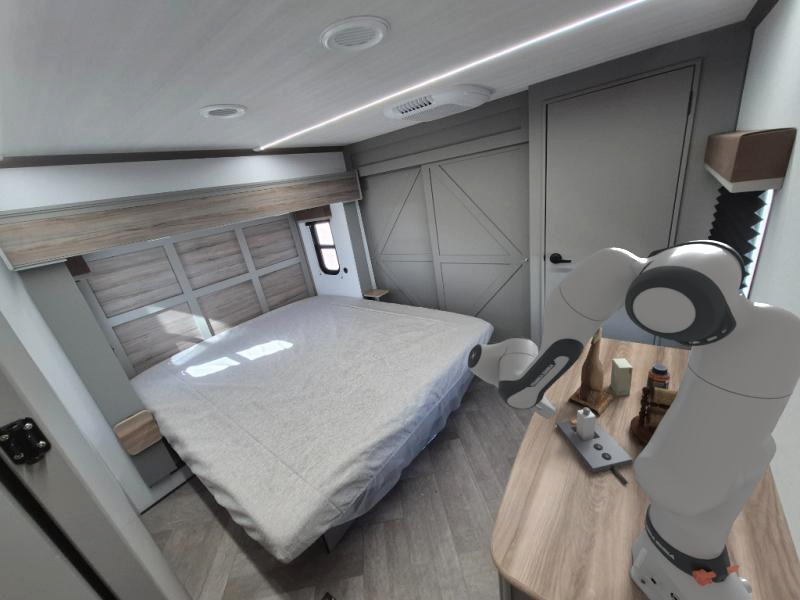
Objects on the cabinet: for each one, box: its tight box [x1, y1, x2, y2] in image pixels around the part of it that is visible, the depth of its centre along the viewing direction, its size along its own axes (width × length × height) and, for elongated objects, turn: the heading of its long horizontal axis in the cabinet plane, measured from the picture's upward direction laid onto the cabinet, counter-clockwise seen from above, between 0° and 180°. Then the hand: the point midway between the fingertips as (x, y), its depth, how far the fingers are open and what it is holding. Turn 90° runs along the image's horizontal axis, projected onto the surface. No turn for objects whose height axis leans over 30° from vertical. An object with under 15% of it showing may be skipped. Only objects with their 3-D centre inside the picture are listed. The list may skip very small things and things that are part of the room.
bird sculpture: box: [567, 326, 613, 417], centre depth 108 cm, size 11×12×32 cm
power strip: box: [556, 417, 633, 485], centre depth 95 cm, size 23×12×3 cm, turn 6°
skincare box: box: [609, 357, 634, 396], centre depth 114 cm, size 6×4×12 cm
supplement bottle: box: [645, 363, 671, 395], centre depth 110 cm, size 6×6×11 cm
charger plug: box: [575, 406, 596, 442], centre depth 98 cm, size 4×4×12 cm
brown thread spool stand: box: [629, 382, 678, 447], centre depth 92 cm, size 15×15×20 cm
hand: (545, 399), depth 93 cm, fingers open, 8 cm apart
